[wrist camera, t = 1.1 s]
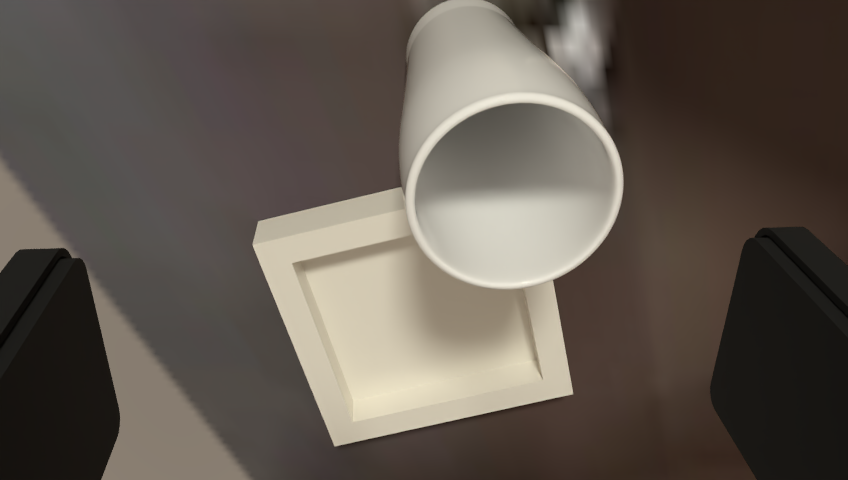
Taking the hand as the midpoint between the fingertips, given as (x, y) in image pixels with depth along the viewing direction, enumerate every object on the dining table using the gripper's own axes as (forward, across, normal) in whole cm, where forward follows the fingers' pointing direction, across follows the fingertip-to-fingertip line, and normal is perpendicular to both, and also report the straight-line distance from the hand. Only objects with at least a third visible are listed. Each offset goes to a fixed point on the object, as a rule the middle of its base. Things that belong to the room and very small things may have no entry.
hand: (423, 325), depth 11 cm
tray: (+27, -2, +17) cm, 32 cm away
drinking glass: (+27, -4, +3) cm, 27 cm away
